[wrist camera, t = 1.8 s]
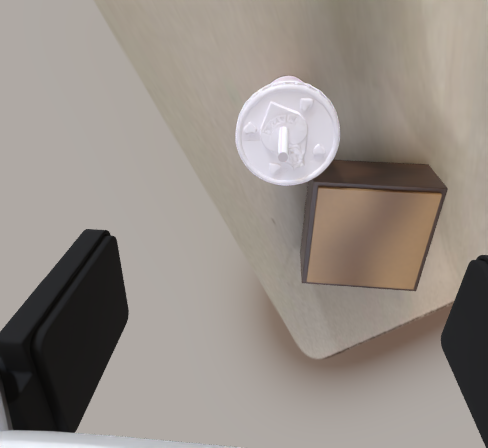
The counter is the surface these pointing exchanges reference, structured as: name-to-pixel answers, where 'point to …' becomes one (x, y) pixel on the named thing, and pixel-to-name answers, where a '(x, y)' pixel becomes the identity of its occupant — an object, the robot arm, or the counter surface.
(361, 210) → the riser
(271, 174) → the smoothie
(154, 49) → the counter surface
